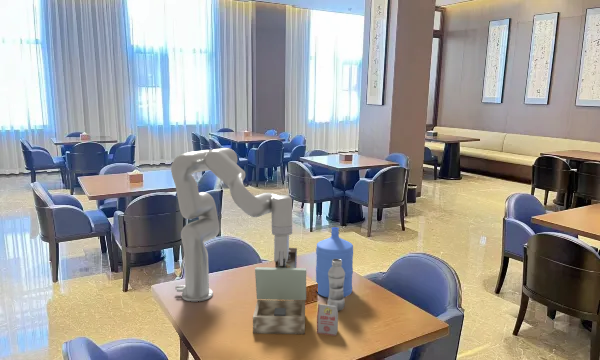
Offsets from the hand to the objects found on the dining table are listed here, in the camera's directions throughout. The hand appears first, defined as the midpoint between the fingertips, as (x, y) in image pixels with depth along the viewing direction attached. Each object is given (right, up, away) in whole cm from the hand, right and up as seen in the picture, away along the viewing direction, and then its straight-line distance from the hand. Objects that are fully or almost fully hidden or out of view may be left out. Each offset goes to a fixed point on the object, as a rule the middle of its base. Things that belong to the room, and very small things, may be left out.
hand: (282, 277), depth 168 cm
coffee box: (0, -10, +33) cm, 34 cm away
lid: (-1, -3, -1) cm, 3 cm away
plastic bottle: (+21, -15, +9) cm, 27 cm away
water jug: (+21, -12, +25) cm, 35 cm away
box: (-1, -16, -4) cm, 17 cm away
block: (-1, -16, -4) cm, 16 cm away
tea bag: (+16, -18, -9) cm, 26 cm away
